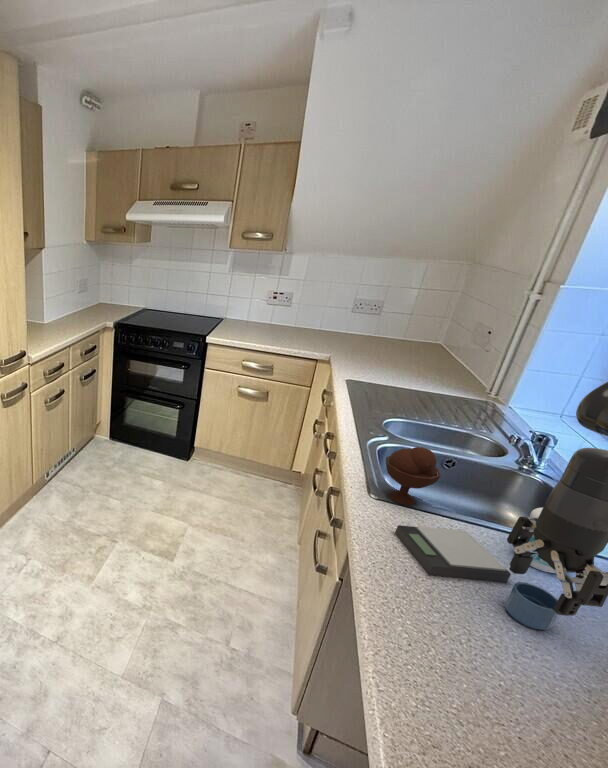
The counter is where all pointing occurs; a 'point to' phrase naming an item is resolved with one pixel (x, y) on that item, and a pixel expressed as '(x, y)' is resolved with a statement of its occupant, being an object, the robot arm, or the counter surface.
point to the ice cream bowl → (411, 471)
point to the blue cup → (531, 606)
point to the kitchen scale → (451, 553)
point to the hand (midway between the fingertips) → (537, 591)
